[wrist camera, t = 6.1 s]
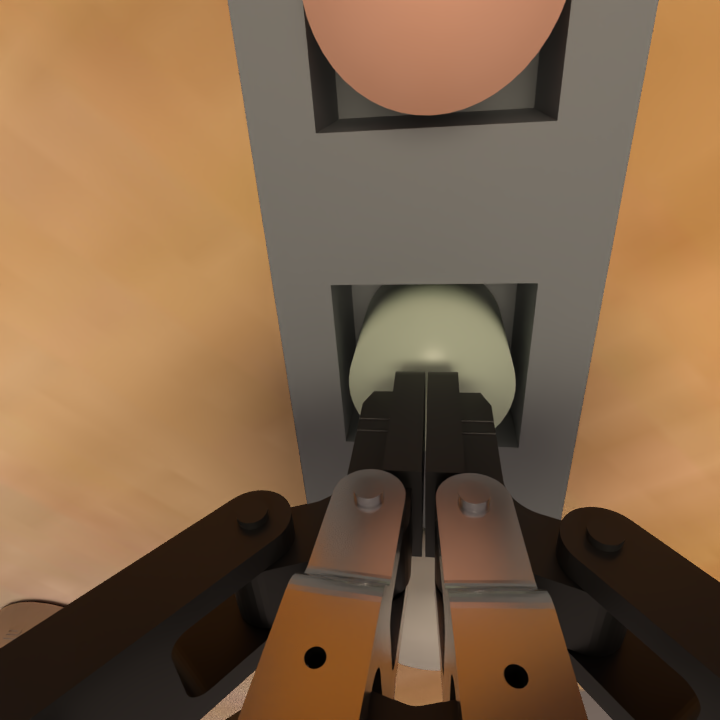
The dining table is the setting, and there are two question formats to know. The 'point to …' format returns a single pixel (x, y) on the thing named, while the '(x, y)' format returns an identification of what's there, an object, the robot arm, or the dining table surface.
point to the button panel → (444, 219)
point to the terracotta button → (430, 47)
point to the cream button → (420, 617)
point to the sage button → (434, 342)
